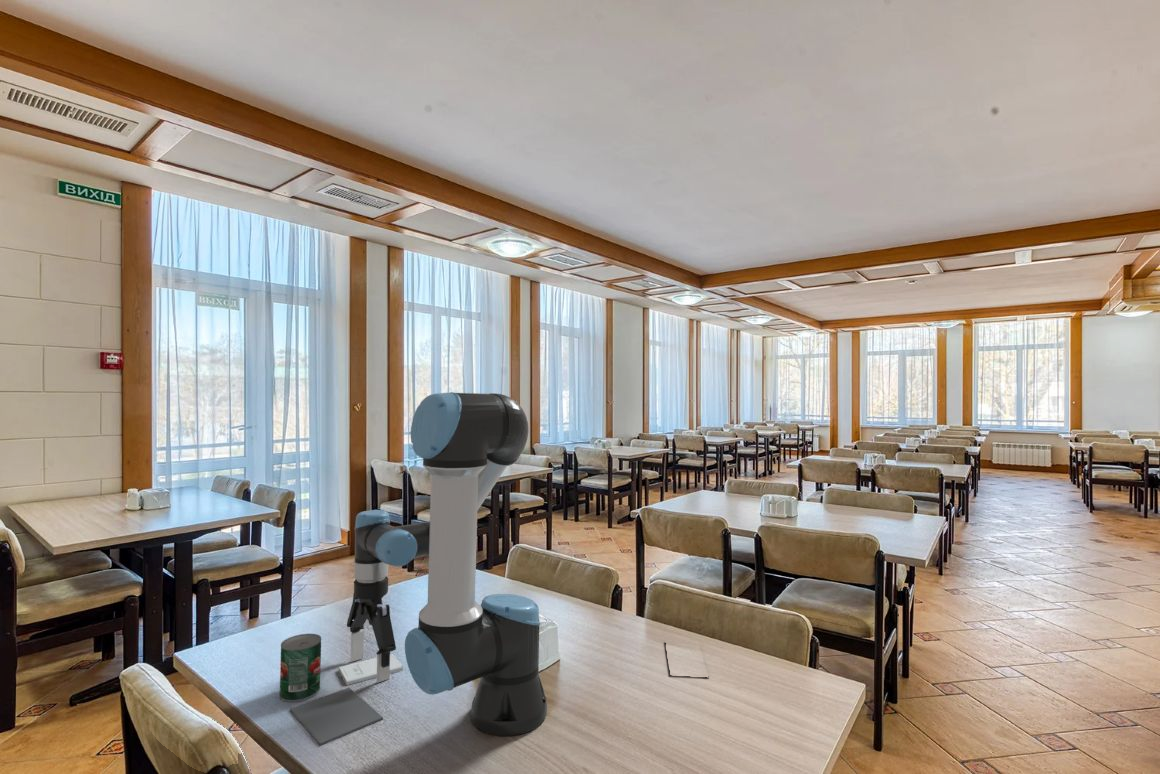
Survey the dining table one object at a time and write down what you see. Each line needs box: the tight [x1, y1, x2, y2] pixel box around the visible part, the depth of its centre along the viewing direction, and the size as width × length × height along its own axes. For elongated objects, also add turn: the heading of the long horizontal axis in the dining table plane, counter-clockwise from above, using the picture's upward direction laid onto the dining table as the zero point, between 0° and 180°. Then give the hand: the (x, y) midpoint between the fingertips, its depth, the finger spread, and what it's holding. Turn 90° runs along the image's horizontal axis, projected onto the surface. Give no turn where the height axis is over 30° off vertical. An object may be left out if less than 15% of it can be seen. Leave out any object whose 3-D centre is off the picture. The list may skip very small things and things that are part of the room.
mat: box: [289, 687, 384, 746], centre depth 112 cm, size 16×12×1 cm
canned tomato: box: [279, 633, 322, 703], centre depth 121 cm, size 8×8×11 cm
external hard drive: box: [338, 653, 404, 686], centre depth 131 cm, size 2×8×12 cm
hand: (369, 669), depth 131 cm, fingers open, 13 cm apart
